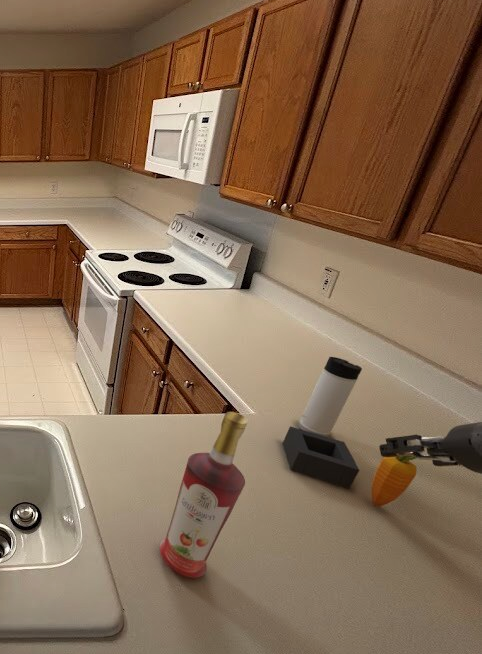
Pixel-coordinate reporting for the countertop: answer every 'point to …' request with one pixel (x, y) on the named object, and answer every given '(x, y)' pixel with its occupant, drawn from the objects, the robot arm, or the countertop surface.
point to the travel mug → (329, 396)
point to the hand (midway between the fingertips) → (407, 455)
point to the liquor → (204, 501)
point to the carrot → (392, 479)
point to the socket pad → (320, 457)
